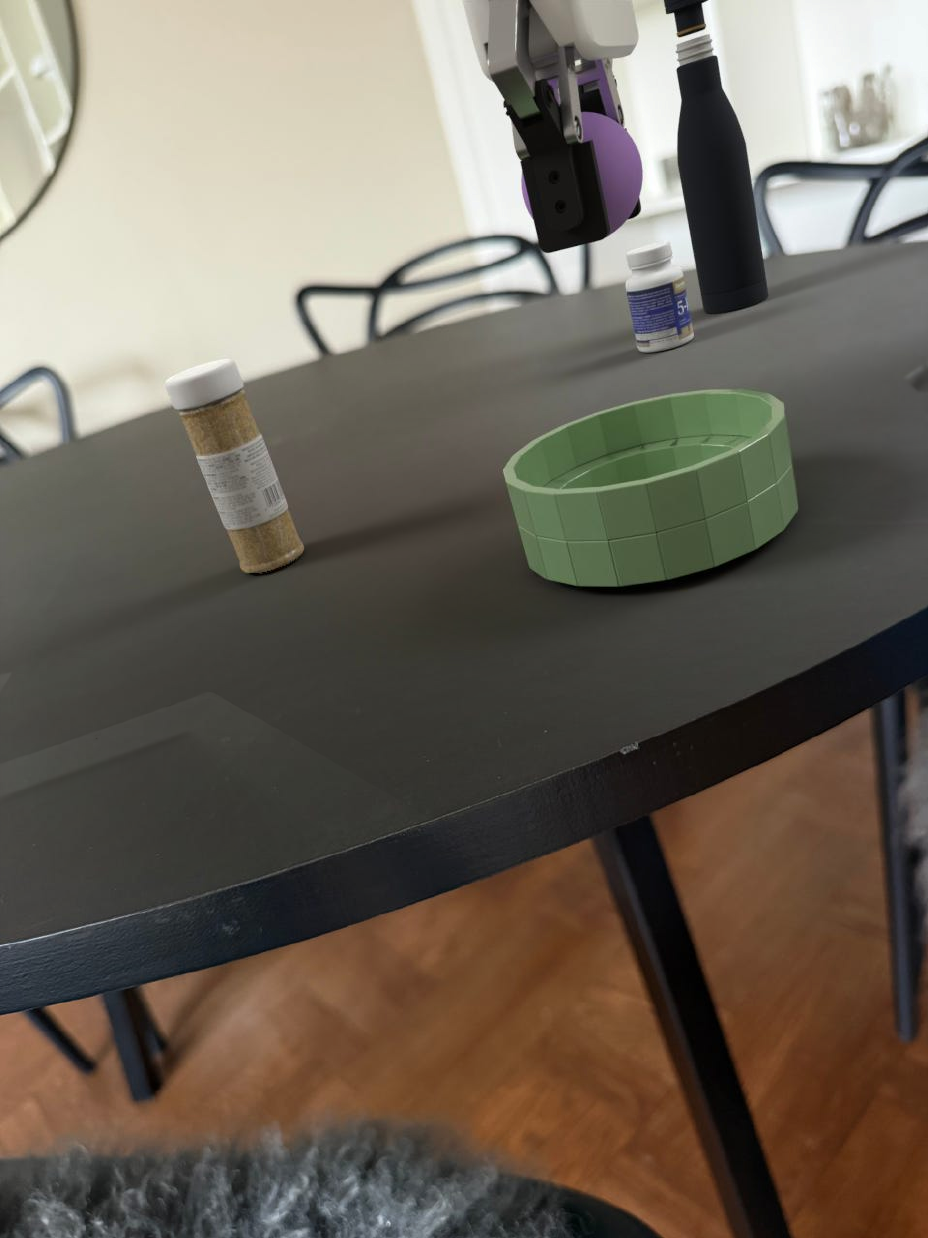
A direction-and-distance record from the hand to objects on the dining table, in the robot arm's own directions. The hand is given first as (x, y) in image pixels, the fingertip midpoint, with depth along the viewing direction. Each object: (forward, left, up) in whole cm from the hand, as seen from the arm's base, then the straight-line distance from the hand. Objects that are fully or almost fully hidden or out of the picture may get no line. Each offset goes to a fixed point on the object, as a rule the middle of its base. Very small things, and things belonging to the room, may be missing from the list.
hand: (593, 229), depth 47 cm
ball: (0, 0, +2) cm, 2 cm away
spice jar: (+11, -24, -16) cm, 31 cm away
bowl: (0, +1, -16) cm, 16 cm away
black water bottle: (-48, -31, -16) cm, 59 cm away
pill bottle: (-35, -29, -16) cm, 48 cm away
